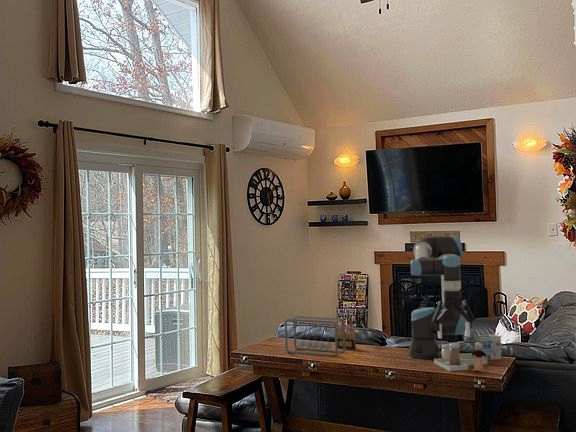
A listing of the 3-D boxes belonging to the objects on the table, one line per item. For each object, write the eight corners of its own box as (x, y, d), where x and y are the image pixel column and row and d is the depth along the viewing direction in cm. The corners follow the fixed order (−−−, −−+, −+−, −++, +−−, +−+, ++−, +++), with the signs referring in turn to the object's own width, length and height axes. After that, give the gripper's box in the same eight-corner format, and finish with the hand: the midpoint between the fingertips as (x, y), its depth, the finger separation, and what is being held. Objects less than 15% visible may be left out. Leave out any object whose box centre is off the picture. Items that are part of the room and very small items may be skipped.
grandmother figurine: (469, 371, 278) (468, 342, 278) (471, 369, 281) (470, 340, 282) (487, 372, 274) (486, 343, 274) (489, 370, 278) (488, 342, 278)
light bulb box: (481, 360, 298) (481, 337, 298) (474, 357, 305) (473, 335, 305) (502, 358, 301) (501, 336, 301) (494, 356, 307) (493, 333, 307)
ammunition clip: (336, 348, 338) (335, 325, 338) (337, 347, 340) (336, 325, 340) (354, 349, 333) (354, 326, 333) (356, 348, 335) (355, 325, 335)
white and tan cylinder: (448, 367, 286) (447, 343, 286) (457, 366, 287) (456, 342, 287) (452, 369, 282) (451, 345, 282) (461, 369, 283) (460, 344, 283)
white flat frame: (434, 363, 295) (434, 357, 295) (452, 362, 297) (452, 356, 297) (449, 371, 279) (449, 365, 279) (468, 369, 281) (468, 363, 281)
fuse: (440, 363, 294) (439, 344, 294) (449, 363, 295) (448, 343, 295) (444, 366, 290) (444, 346, 290) (453, 365, 290) (453, 345, 290)
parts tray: (451, 361, 299) (451, 354, 299) (474, 359, 301) (474, 352, 301) (463, 366, 287) (462, 359, 287) (487, 364, 290) (487, 358, 290)
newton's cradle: (285, 352, 330) (284, 318, 330) (294, 349, 339) (294, 315, 339) (337, 357, 315) (336, 321, 315) (346, 353, 324) (344, 318, 325)
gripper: (429, 292, 278) (431, 340, 278) (482, 289, 283) (483, 337, 283) (423, 290, 286) (424, 337, 285) (473, 288, 291) (475, 334, 290)
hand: (454, 337), depth 284 cm, fingers open, 13 cm apart
